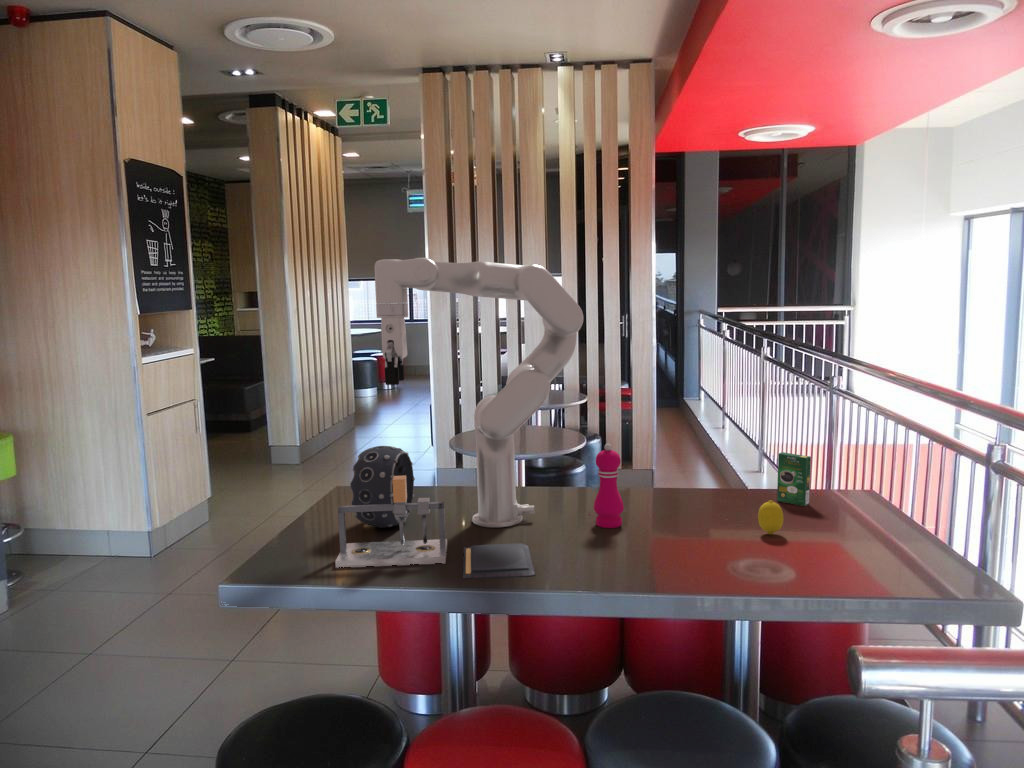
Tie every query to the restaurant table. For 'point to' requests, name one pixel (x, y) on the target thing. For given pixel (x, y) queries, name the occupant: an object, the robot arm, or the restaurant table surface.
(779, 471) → the coffee box
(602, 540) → the restaurant table surface
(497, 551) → the dark grey flat slab
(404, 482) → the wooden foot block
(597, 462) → the pepper mill
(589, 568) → the restaurant table surface
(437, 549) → the switch panel
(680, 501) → the restaurant table surface
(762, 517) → the lemon
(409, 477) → the ring
